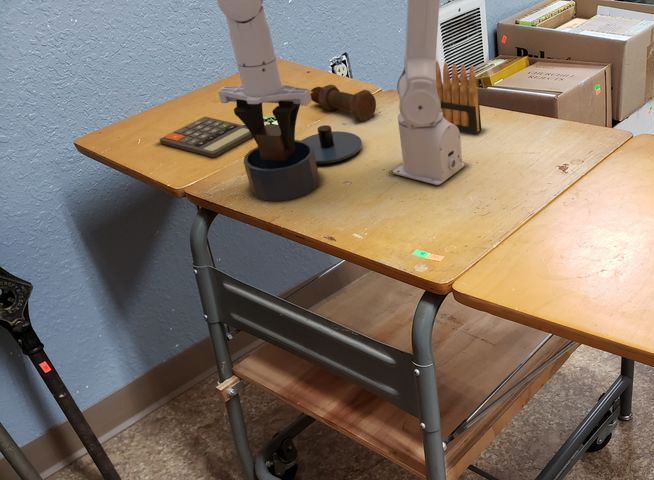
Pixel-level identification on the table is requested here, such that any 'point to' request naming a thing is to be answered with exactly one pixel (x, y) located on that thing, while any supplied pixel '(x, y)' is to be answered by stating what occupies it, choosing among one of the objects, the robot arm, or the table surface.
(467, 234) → the table surface
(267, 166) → the pot
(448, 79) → the ammunition clip
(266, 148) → the block
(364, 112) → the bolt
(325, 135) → the lid
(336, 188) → the table surface
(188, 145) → the calculator
